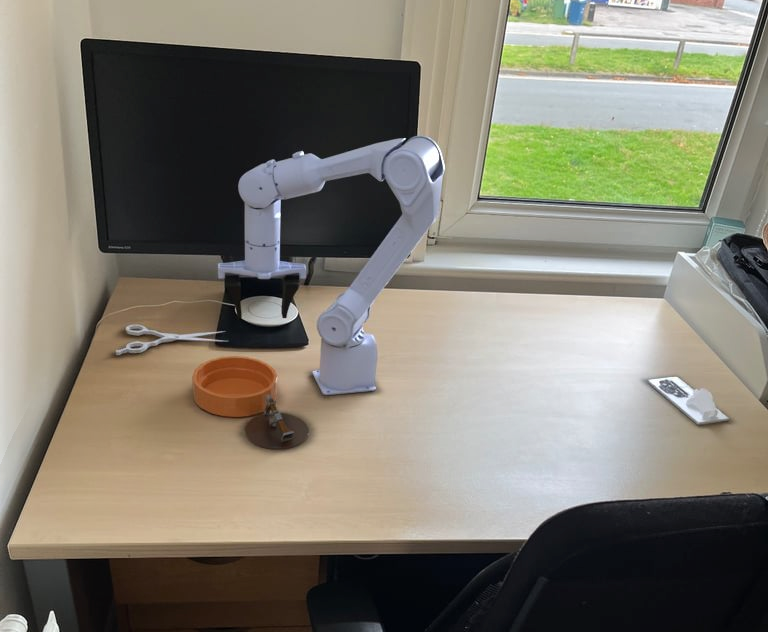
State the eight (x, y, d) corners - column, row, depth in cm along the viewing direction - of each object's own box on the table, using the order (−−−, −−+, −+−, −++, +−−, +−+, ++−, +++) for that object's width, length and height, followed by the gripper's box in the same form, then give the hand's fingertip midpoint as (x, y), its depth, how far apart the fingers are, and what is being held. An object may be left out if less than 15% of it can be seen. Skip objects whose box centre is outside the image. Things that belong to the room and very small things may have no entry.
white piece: (728, 420, 146) (736, 398, 143) (697, 424, 144) (705, 402, 141) (676, 378, 157) (683, 357, 155) (647, 381, 155) (653, 360, 153)
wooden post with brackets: (267, 407, 133) (273, 391, 130) (288, 447, 130) (294, 431, 126) (257, 410, 132) (263, 393, 129) (278, 450, 129) (284, 434, 126)
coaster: (300, 411, 135) (300, 409, 135) (315, 445, 128) (315, 443, 127) (239, 417, 132) (239, 415, 132) (251, 453, 125) (251, 451, 124)
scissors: (117, 324, 153) (226, 321, 158) (118, 328, 154) (226, 325, 158) (115, 352, 145) (231, 347, 149) (116, 355, 145) (231, 351, 150)
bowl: (267, 373, 145) (267, 353, 143) (284, 414, 134) (285, 393, 132) (188, 380, 141) (187, 359, 138) (199, 422, 130) (199, 401, 128)
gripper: (218, 249, 130) (220, 326, 138) (309, 250, 133) (306, 325, 141) (216, 233, 136) (218, 308, 143) (304, 234, 139) (301, 307, 147)
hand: (261, 315), depth 143 cm, fingers open, 7 cm apart
